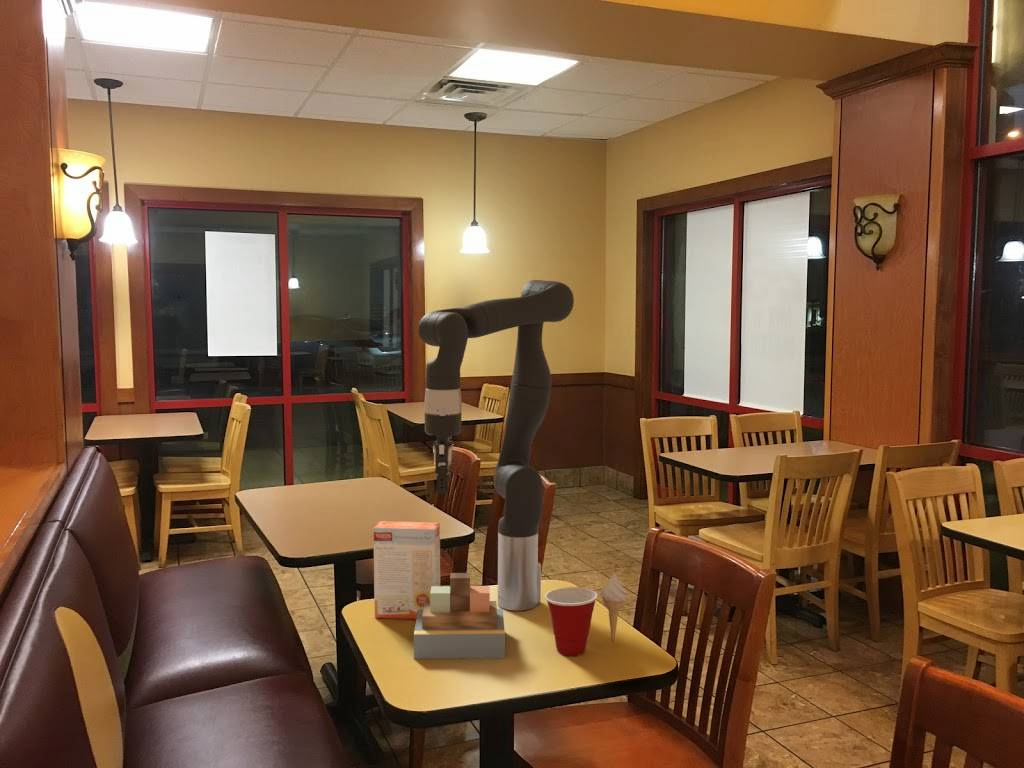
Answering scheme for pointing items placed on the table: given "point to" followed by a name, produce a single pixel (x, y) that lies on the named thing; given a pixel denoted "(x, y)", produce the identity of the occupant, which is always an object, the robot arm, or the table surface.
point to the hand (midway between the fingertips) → (443, 488)
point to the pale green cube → (440, 599)
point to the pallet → (460, 619)
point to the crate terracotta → (479, 599)
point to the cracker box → (405, 567)
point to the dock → (459, 641)
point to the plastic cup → (571, 617)
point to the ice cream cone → (613, 601)
